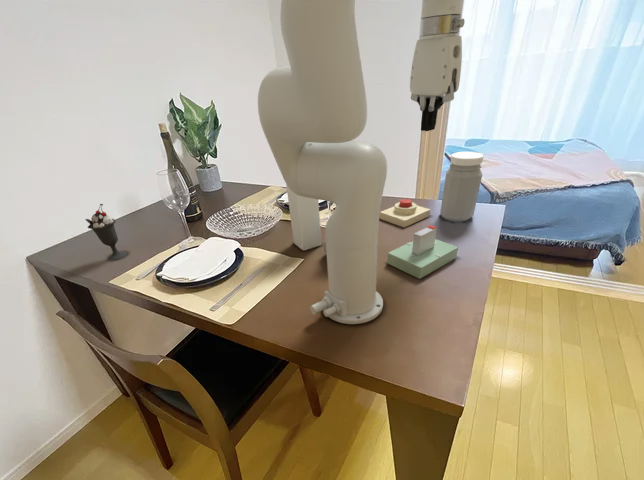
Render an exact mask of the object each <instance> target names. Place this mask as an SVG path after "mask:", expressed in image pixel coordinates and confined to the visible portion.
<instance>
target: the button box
mask: <svg viewBox="0 0 644 480" xmlns="http://www.w3.org/2000/svg"><path fill="white" fill-rule="evenodd" d="M430 214H431V209H430V208H427V207H424V206H420V205H418V204H417V203H415V202H414V201H412V206H411V207H408V208H403V207H400V201H398V202H395V204H394V206H391V207H389V208H387V209H384V210H382V211H381V210H380V214H379V220H383V221H385V222H388V223H390V224H393V225H396V226H398V227H401V228H407V227H408V226H411V225H413V224H416V223H417V222H420V221H423V220H424V219H426V218H429V217H430V216H431V215H430Z"/></svg>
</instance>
